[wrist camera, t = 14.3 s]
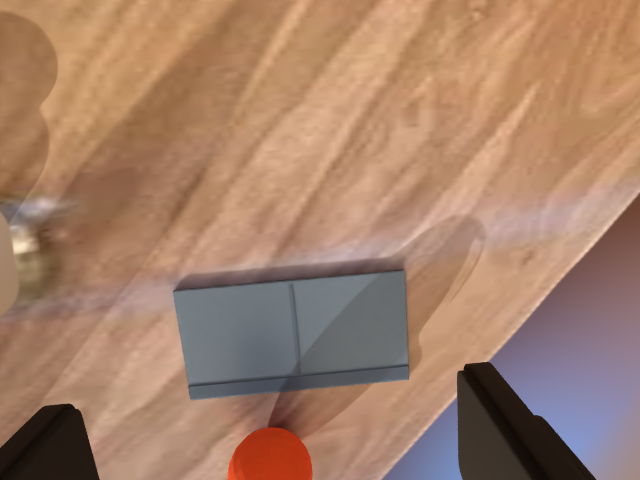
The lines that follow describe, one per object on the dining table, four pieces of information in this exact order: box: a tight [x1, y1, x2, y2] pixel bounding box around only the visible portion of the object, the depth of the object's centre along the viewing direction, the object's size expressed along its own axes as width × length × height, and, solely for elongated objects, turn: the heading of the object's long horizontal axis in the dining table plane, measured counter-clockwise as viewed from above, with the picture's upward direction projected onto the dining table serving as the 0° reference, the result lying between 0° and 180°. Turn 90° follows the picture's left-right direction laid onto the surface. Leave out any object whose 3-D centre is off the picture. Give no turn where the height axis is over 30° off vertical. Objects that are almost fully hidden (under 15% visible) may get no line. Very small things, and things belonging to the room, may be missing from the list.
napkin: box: [173, 270, 409, 400], centre depth 34 cm, size 19×10×1 cm, turn 95°
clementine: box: [227, 427, 313, 480], centre depth 33 cm, size 8×7×7 cm
